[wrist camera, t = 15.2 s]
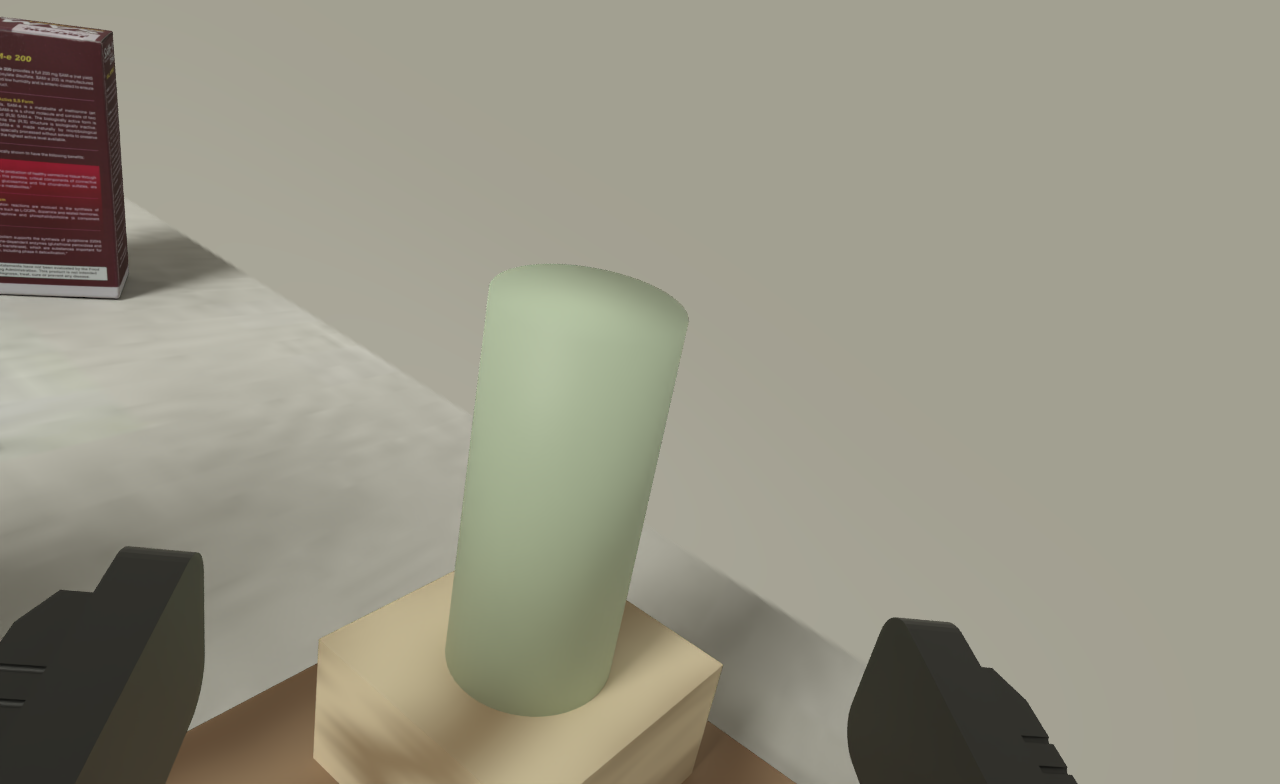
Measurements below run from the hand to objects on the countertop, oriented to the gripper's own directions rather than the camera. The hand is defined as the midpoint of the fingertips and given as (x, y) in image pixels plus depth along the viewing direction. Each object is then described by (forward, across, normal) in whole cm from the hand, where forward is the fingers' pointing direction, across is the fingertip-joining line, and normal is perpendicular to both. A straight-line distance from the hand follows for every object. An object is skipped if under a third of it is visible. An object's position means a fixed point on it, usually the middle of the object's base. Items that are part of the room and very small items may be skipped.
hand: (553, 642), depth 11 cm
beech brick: (+14, -2, +18) cm, 23 cm away
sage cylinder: (+14, -2, +13) cm, 19 cm away
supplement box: (+52, +28, +20) cm, 63 cm away
